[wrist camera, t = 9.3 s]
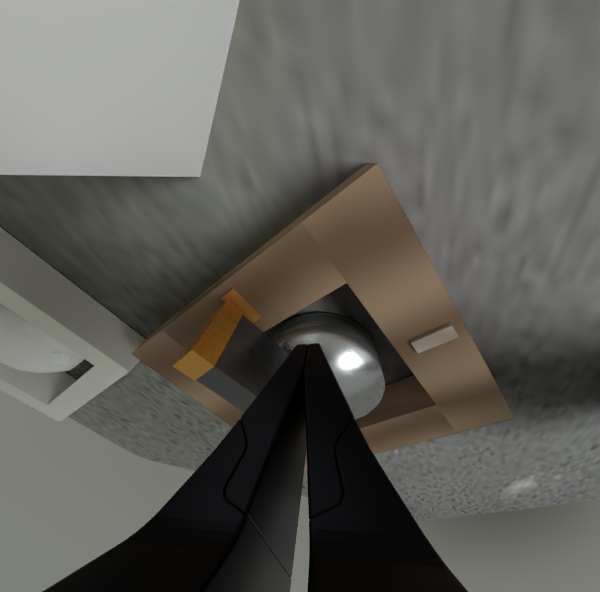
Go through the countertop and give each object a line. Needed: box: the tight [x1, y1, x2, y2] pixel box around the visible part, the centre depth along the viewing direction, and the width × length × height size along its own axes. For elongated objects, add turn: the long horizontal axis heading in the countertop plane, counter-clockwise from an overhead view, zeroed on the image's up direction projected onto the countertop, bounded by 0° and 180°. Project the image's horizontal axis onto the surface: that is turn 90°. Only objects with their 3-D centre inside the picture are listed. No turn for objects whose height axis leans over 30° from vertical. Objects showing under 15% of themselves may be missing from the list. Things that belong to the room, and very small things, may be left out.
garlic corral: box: [0, 227, 146, 422], centre depth 20 cm, size 14×14×3 cm
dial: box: [173, 300, 385, 419], centre depth 15 cm, size 14×9×7 cm, turn 43°
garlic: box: [0, 303, 84, 373], centre depth 19 cm, size 8×7×4 cm
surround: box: [132, 163, 515, 472], centre depth 18 cm, size 20×20×3 cm
